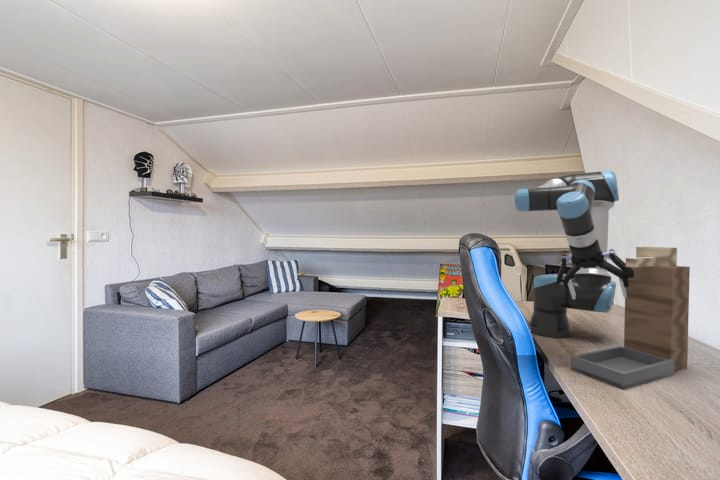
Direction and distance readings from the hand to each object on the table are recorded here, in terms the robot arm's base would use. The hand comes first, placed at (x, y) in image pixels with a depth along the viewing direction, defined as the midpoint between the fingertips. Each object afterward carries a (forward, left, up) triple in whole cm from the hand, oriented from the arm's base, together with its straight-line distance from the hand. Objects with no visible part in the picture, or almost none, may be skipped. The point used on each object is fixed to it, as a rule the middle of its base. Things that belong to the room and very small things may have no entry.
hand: (598, 295), depth 111 cm
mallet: (+2, +11, +10) cm, 15 cm away
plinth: (-4, +14, -20) cm, 25 cm away
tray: (+11, +6, -20) cm, 23 cm away
